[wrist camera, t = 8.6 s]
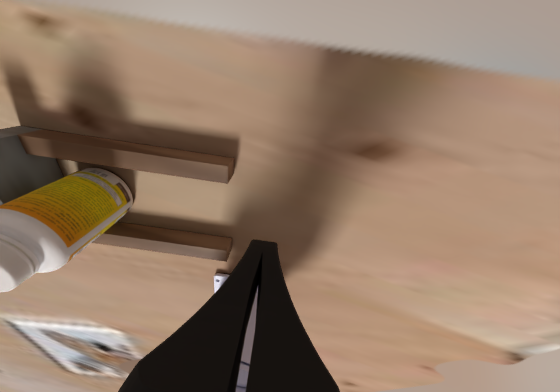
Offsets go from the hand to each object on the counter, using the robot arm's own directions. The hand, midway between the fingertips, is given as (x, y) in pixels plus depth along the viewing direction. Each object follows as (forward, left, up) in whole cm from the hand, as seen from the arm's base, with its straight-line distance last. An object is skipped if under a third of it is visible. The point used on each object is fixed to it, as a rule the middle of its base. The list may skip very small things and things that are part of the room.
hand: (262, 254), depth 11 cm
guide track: (-4, +14, -9) cm, 17 cm away
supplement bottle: (-4, +17, -10) cm, 20 cm away
